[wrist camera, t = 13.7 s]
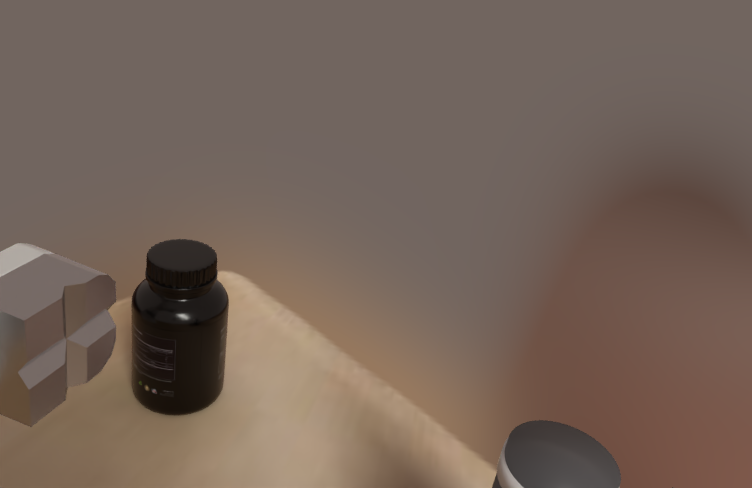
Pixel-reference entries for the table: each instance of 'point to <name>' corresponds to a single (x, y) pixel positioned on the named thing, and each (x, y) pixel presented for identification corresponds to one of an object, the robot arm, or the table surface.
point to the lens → (554, 459)
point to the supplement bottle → (179, 329)
